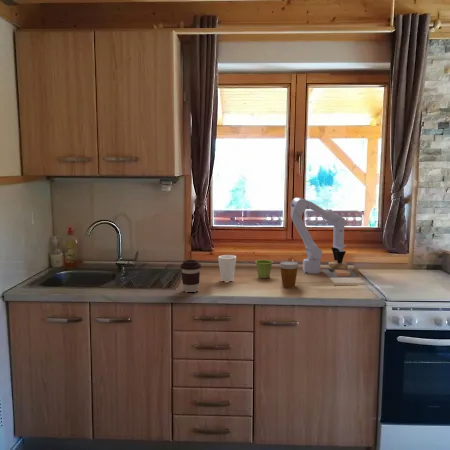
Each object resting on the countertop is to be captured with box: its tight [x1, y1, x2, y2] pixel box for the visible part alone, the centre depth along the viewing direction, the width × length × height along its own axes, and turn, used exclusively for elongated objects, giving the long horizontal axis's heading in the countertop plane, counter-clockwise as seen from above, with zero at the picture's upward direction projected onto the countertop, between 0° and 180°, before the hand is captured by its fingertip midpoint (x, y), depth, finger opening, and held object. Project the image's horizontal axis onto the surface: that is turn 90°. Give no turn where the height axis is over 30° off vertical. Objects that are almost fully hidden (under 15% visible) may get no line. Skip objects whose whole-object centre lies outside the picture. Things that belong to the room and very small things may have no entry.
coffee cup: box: [179, 259, 202, 293], centre depth 229 cm, size 10×10×15 cm
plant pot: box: [255, 259, 274, 279], centre depth 255 cm, size 9×9×9 cm
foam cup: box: [217, 254, 237, 282], centre depth 248 cm, size 10×9×13 cm
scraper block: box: [327, 261, 349, 271], centre depth 263 cm, size 10×4×4 cm, turn 90°
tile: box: [334, 270, 350, 276], centre depth 254 cm, size 7×7×2 cm
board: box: [322, 268, 366, 287], centre depth 252 cm, size 16×28×2 cm, turn 0°
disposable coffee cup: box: [279, 260, 299, 289], centre depth 237 cm, size 10×10×12 cm
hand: (338, 261), depth 263 cm, fingers open, 7 cm apart
